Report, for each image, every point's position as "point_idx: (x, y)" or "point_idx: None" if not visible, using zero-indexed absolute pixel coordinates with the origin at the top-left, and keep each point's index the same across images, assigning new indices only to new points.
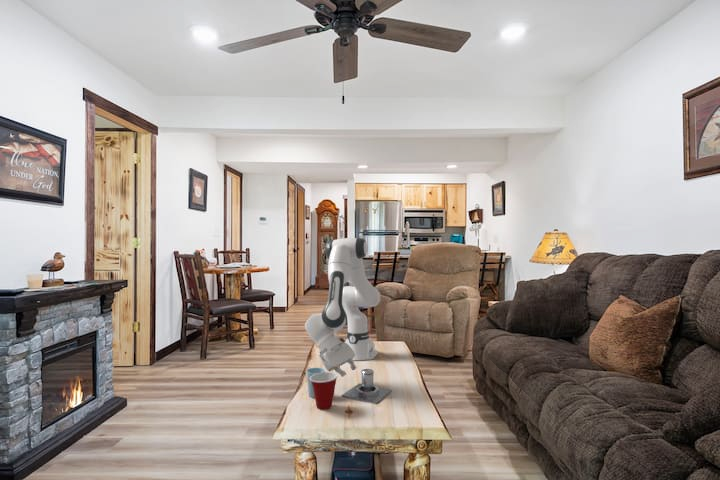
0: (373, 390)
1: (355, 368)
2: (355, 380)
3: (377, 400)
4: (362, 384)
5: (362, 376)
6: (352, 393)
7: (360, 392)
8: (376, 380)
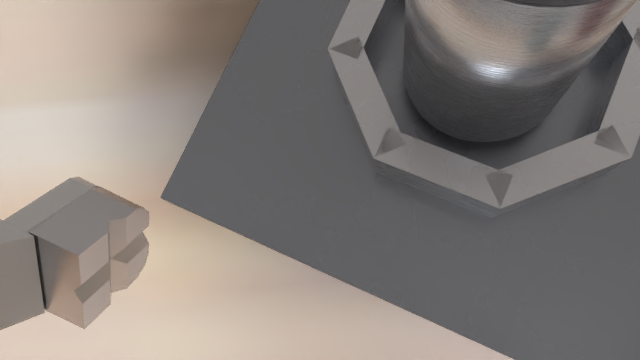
0: None
1: (123, 201)
2: None
3: None
4: (572, 77)
5: (630, 3)
6: (561, 261)
7: (635, 132)
8: (28, 12)
